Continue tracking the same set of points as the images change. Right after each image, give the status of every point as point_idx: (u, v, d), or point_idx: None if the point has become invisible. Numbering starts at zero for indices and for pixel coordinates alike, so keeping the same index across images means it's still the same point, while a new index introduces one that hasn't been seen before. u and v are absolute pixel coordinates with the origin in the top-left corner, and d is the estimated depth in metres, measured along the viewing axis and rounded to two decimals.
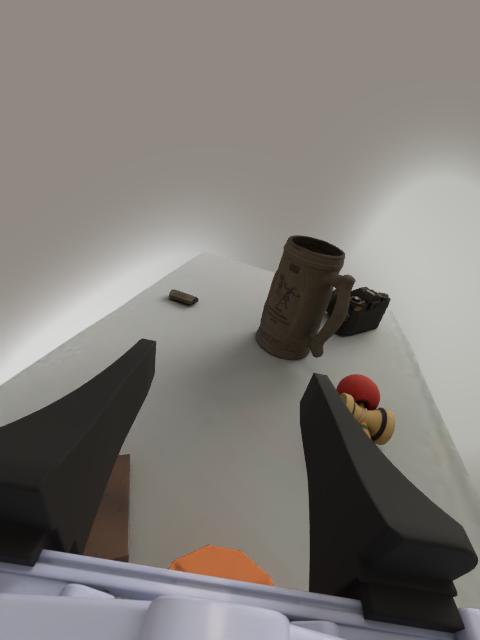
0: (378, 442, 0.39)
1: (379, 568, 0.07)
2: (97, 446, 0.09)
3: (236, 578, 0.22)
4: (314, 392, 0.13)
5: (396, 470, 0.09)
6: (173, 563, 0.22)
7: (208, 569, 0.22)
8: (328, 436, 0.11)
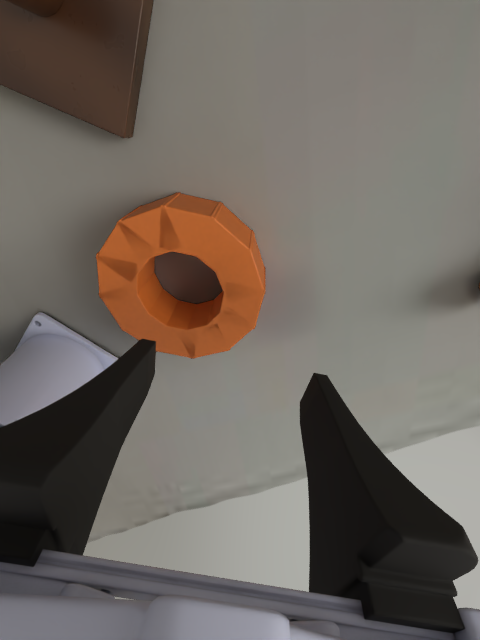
0: None
1: (379, 568, 0.07)
2: (97, 446, 0.09)
3: (226, 270, 0.17)
4: (314, 392, 0.13)
5: (396, 470, 0.09)
6: (160, 208, 0.15)
7: (200, 242, 0.16)
8: (328, 436, 0.11)
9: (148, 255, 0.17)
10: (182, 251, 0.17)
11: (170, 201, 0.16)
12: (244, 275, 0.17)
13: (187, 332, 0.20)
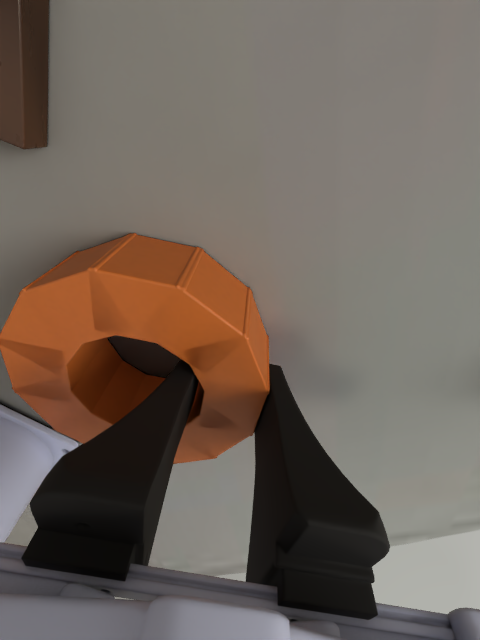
0: None
1: (295, 554, 0.07)
2: (167, 459, 0.09)
3: (207, 363, 0.10)
4: None
5: (327, 457, 0.09)
6: (88, 272, 0.09)
7: (161, 323, 0.10)
8: (270, 425, 0.11)
9: (79, 340, 0.10)
10: (133, 336, 0.10)
11: (110, 256, 0.10)
12: (236, 370, 0.11)
13: None
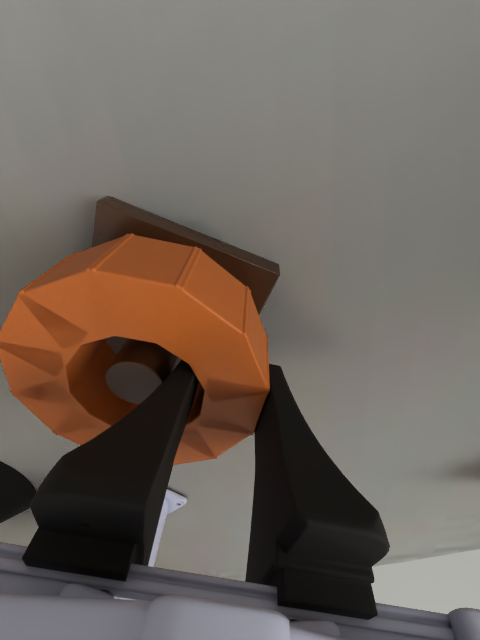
0: None
1: (294, 554, 0.07)
2: (167, 459, 0.09)
3: (207, 362, 0.10)
4: None
5: (326, 457, 0.09)
6: (86, 272, 0.09)
7: (160, 323, 0.10)
8: (270, 425, 0.11)
9: (78, 341, 0.10)
10: (132, 336, 0.10)
11: (108, 256, 0.10)
12: (236, 369, 0.11)
13: None
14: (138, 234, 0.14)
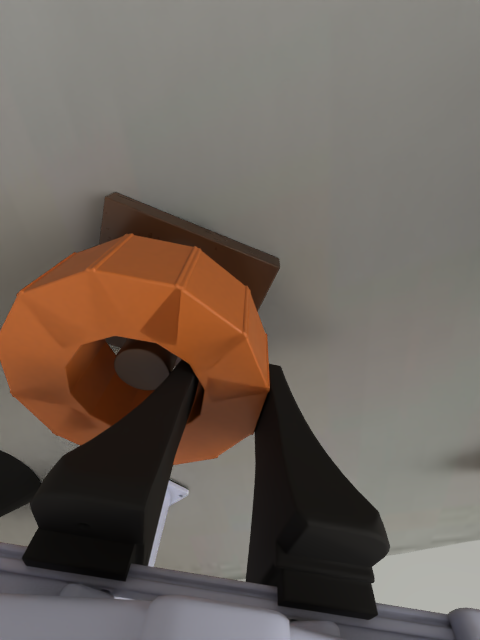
0: None
1: (295, 554, 0.07)
2: (167, 459, 0.09)
3: (207, 362, 0.10)
4: None
5: (327, 457, 0.09)
6: (86, 272, 0.09)
7: (160, 323, 0.10)
8: (270, 425, 0.11)
9: (78, 342, 0.10)
10: (132, 336, 0.10)
11: (108, 256, 0.10)
12: (236, 368, 0.11)
13: None
14: (144, 228, 0.14)
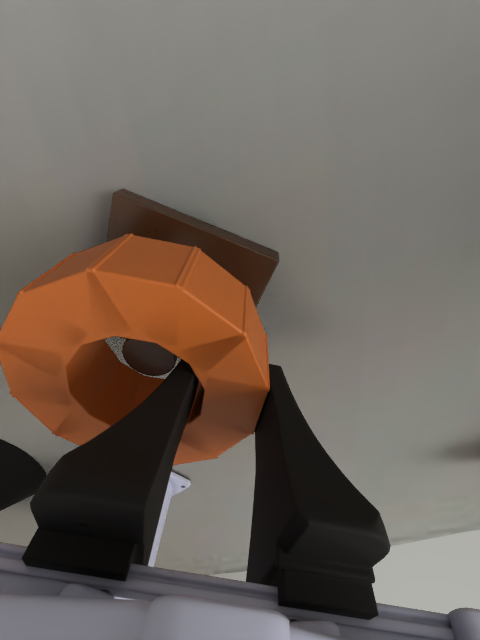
0: None
1: (295, 554, 0.07)
2: (167, 459, 0.09)
3: (207, 362, 0.10)
4: None
5: (327, 457, 0.09)
6: (86, 272, 0.09)
7: (160, 323, 0.10)
8: (271, 425, 0.11)
9: (77, 342, 0.10)
10: (132, 336, 0.10)
11: (108, 256, 0.10)
12: (236, 368, 0.11)
13: None
14: (150, 223, 0.15)
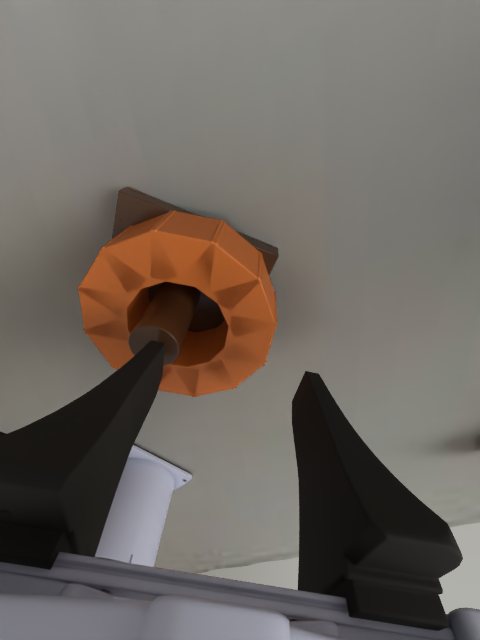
0: None
1: (364, 566, 0.07)
2: (110, 448, 0.09)
3: (231, 302, 0.14)
4: (305, 390, 0.12)
5: (384, 468, 0.09)
6: (150, 232, 0.13)
7: (199, 271, 0.14)
8: (318, 434, 0.11)
9: (138, 286, 0.14)
10: (178, 281, 0.14)
11: (162, 223, 0.14)
12: (252, 307, 0.14)
13: (187, 369, 0.17)
14: None
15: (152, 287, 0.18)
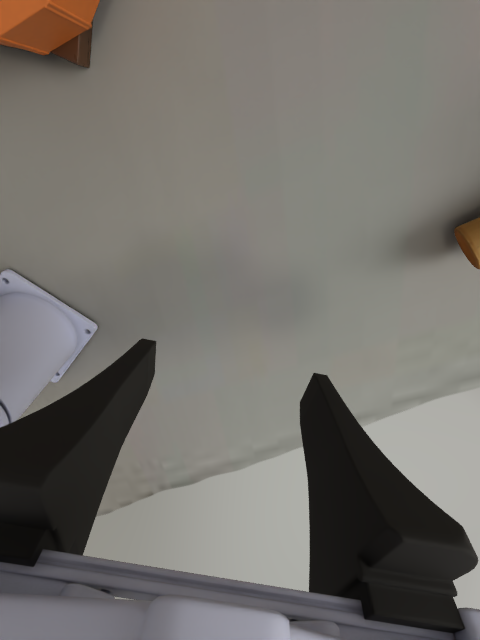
0: None
1: (379, 568, 0.07)
2: (97, 446, 0.09)
3: None
4: (314, 392, 0.13)
5: (396, 470, 0.09)
6: None
7: None
8: (328, 436, 0.11)
9: None
10: None
11: None
12: None
13: None
14: None
15: None
